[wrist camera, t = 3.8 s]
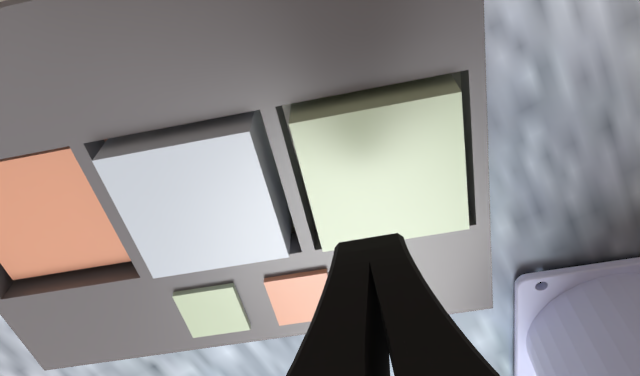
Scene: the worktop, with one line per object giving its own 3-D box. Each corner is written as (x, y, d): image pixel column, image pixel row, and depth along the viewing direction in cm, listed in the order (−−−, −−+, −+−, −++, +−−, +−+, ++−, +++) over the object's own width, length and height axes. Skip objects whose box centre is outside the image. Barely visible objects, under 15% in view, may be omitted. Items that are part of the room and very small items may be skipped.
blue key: (258, 94, 15) (249, 131, 13) (292, 210, 17) (289, 257, 15) (120, 121, 15) (91, 160, 13) (171, 230, 17) (153, 278, 16)
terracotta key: (101, 112, 16) (71, 148, 14) (152, 217, 18) (132, 260, 17) (-21, 136, 17) (-65, 174, 15) (43, 236, 19) (12, 280, 17)
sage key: (442, 58, 14) (461, 91, 12) (451, 184, 16) (469, 229, 14) (292, 87, 15) (288, 124, 13) (322, 206, 17) (322, 252, 15)
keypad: (438, -116, 14) (483, -101, 10) (461, 223, 21) (494, 312, 17) (-82, 5, 16) (-212, 57, 12) (90, 282, 22) (41, 375, 19)
